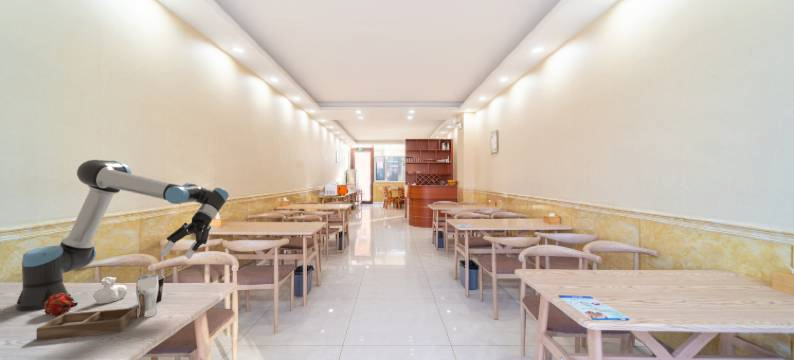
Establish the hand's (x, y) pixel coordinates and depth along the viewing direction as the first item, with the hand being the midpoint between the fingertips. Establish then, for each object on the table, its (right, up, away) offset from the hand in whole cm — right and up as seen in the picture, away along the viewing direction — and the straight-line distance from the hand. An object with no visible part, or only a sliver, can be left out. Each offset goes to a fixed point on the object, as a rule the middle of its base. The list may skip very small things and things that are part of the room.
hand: (174, 256), depth 138 cm
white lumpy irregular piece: (-31, -21, +5) cm, 38 cm away
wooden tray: (-15, -20, -21) cm, 33 cm away
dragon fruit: (-39, -21, -8) cm, 45 cm away
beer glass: (-4, -21, -10) cm, 23 cm away
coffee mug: (-12, -21, +5) cm, 24 cm away
